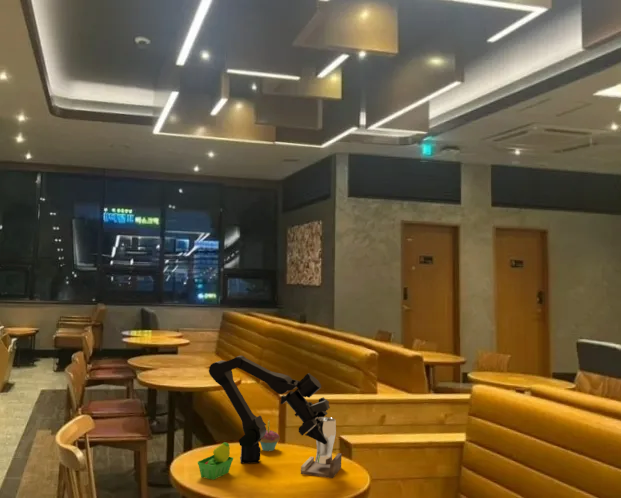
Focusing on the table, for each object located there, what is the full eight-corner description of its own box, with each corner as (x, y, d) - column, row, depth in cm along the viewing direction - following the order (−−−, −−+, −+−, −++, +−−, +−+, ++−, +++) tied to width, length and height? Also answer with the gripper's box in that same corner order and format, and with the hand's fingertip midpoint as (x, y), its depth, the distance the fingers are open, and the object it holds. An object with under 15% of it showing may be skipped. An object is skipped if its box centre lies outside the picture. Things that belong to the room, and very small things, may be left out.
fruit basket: (215, 468, 219) (216, 435, 219) (236, 473, 215) (238, 439, 215) (195, 477, 209) (197, 443, 209) (217, 482, 205) (219, 447, 205)
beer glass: (335, 465, 218) (338, 421, 219) (316, 465, 217) (319, 421, 217) (331, 459, 225) (333, 416, 226) (312, 459, 224) (314, 416, 224)
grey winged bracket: (300, 473, 217) (301, 459, 217) (310, 463, 228) (311, 449, 229) (333, 478, 214) (333, 463, 214) (341, 467, 225) (341, 453, 225)
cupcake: (278, 453, 239) (279, 421, 240) (255, 452, 239) (257, 420, 240) (279, 446, 248) (280, 416, 248) (258, 445, 248) (259, 415, 248)
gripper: (309, 396, 214) (339, 433, 210) (323, 386, 232) (351, 420, 228) (286, 417, 216) (315, 453, 212) (301, 405, 234) (328, 439, 230)
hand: (328, 441), depth 221 cm, fingers closed on beer glass, 6 cm apart
